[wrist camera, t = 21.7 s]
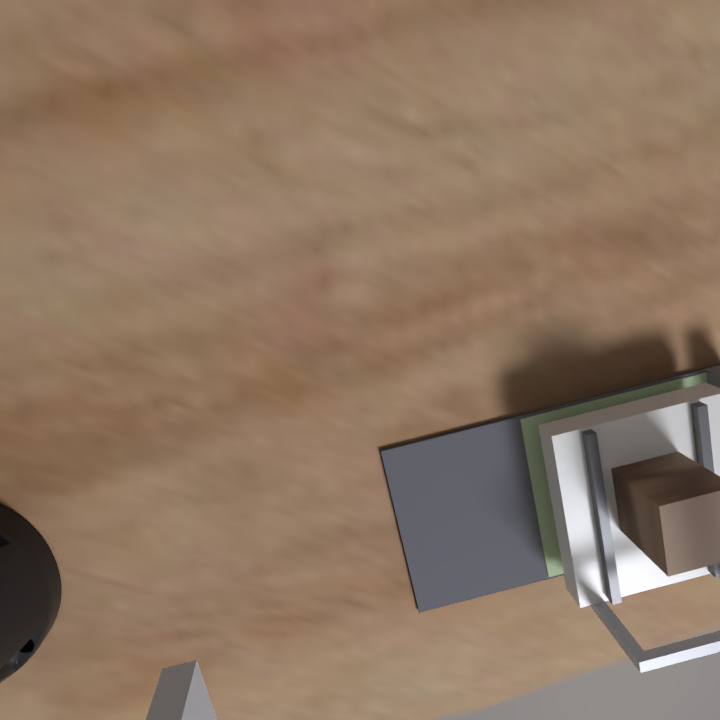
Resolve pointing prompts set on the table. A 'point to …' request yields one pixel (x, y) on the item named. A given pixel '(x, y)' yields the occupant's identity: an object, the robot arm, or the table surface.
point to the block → (670, 511)
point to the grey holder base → (489, 500)
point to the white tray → (599, 509)
